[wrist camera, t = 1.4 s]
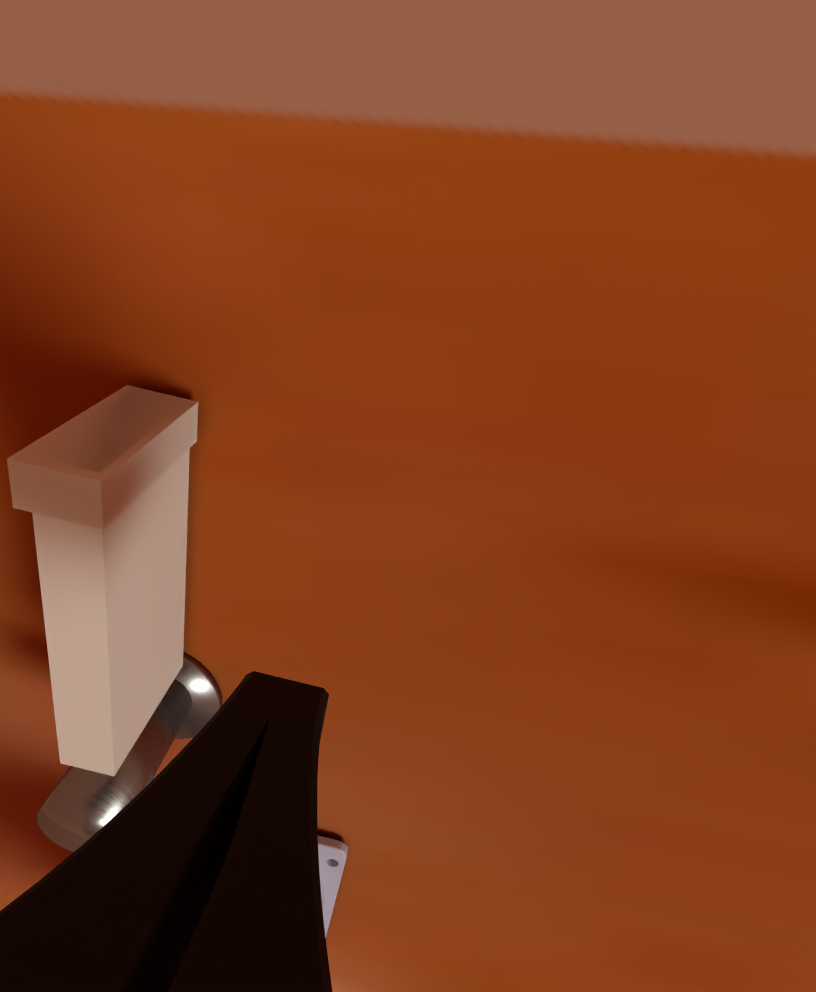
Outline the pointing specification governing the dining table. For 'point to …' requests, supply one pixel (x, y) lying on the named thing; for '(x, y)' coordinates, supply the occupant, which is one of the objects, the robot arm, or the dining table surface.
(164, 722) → the pivot post
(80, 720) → the lipped cream column
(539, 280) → the dining table surface
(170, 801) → the robot arm
